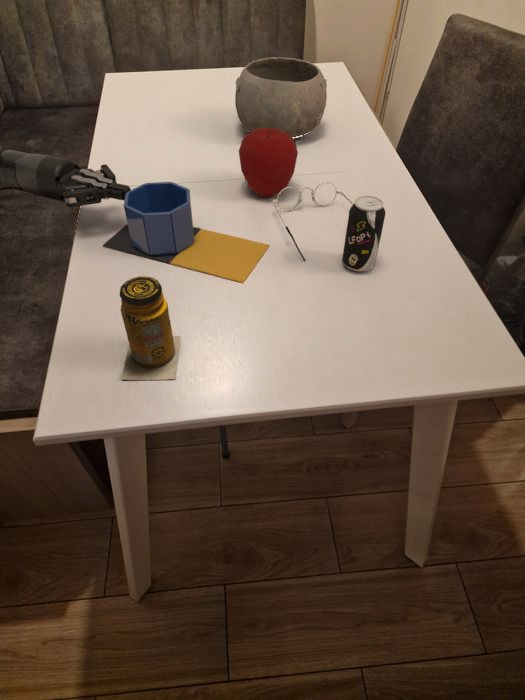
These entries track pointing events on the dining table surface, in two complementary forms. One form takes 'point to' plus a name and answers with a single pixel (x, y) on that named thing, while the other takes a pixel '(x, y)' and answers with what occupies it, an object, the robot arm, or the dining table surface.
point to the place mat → (204, 253)
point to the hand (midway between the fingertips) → (128, 193)
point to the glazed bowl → (159, 218)
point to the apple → (267, 160)
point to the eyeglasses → (300, 202)
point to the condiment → (148, 331)
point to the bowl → (281, 95)
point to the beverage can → (363, 233)
